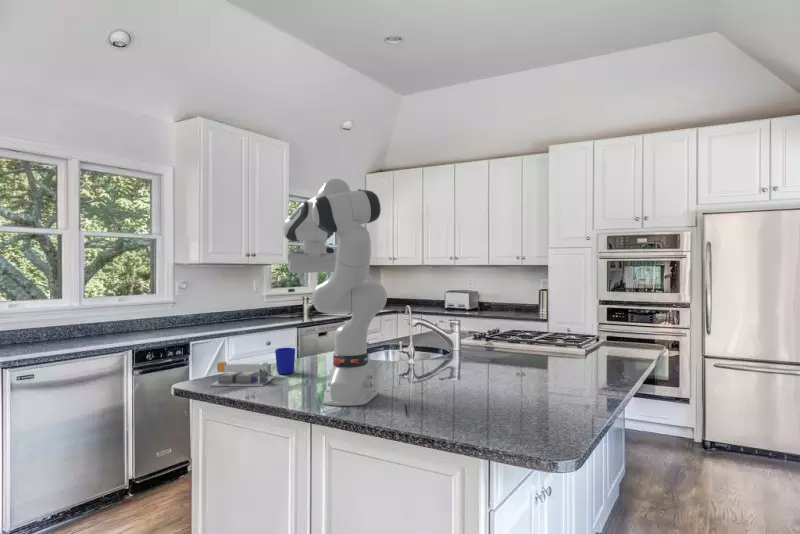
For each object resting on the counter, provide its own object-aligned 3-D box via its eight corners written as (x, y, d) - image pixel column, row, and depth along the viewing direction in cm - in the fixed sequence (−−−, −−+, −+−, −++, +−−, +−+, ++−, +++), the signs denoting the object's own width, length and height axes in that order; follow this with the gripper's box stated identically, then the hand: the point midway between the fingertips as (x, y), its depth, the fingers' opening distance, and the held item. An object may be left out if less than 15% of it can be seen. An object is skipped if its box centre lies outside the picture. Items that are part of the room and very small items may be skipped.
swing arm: (266, 372, 197) (266, 363, 197) (216, 372, 198) (216, 363, 198) (268, 370, 200) (268, 361, 200) (220, 370, 201) (220, 361, 201)
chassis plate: (262, 386, 192) (262, 376, 191) (210, 386, 193) (210, 376, 193) (274, 377, 205) (274, 368, 205) (225, 377, 207) (225, 368, 207)
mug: (300, 369, 222) (300, 346, 222) (292, 375, 210) (291, 350, 210) (282, 369, 223) (281, 346, 223) (272, 375, 211) (272, 350, 211)
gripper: (289, 249, 200) (289, 285, 201) (340, 249, 208) (340, 283, 208) (286, 249, 206) (287, 284, 206) (336, 249, 214) (336, 282, 214)
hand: (314, 283), depth 207 cm, fingers open, 8 cm apart
